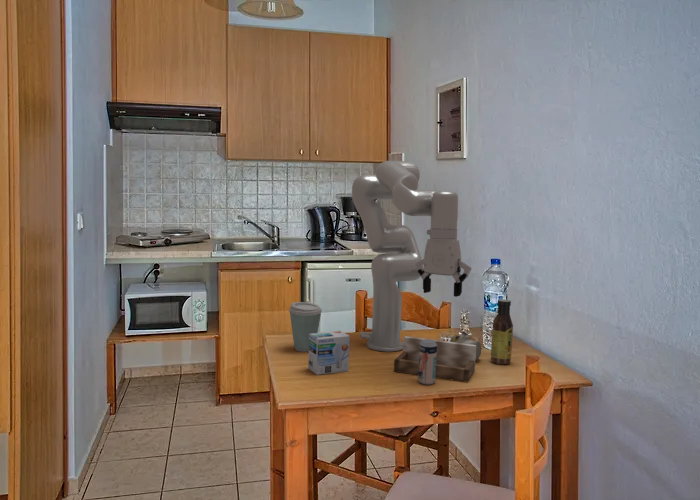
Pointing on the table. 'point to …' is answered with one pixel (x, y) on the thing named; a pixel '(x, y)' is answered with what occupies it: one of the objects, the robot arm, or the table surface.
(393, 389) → the table surface
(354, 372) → the table surface
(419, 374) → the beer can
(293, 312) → the disposable coffee cup
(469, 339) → the ceramic sculpture
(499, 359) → the sauce bottle
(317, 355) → the light bulb box
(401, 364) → the wooden tray
